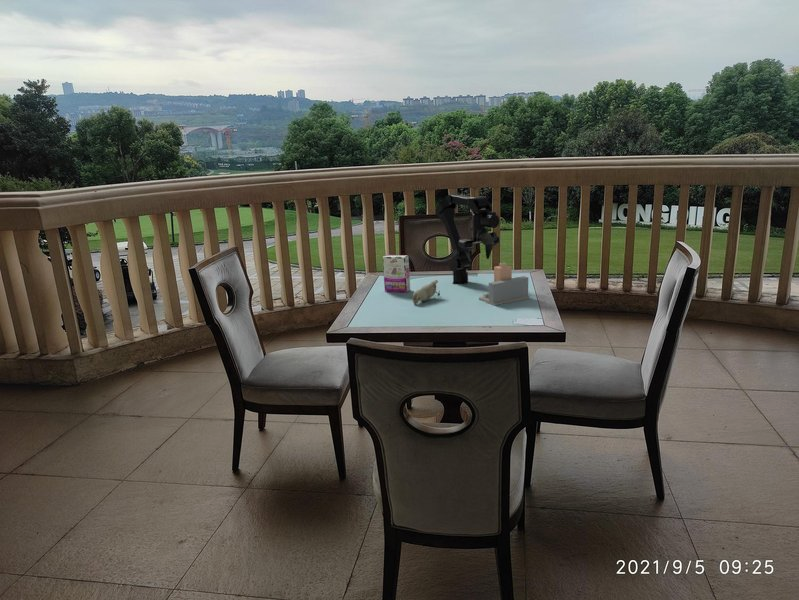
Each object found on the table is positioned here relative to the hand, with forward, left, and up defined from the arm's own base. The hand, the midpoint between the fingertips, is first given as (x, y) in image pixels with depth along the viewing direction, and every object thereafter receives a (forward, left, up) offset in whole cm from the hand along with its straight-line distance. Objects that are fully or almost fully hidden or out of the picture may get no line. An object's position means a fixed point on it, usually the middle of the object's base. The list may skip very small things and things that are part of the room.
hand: (479, 260), depth 243 cm
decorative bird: (-21, -20, -13) cm, 32 cm away
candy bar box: (-37, -6, -13) cm, 40 cm away
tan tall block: (+11, -15, -12) cm, 23 cm away
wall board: (+11, -15, -13) cm, 23 cm away
